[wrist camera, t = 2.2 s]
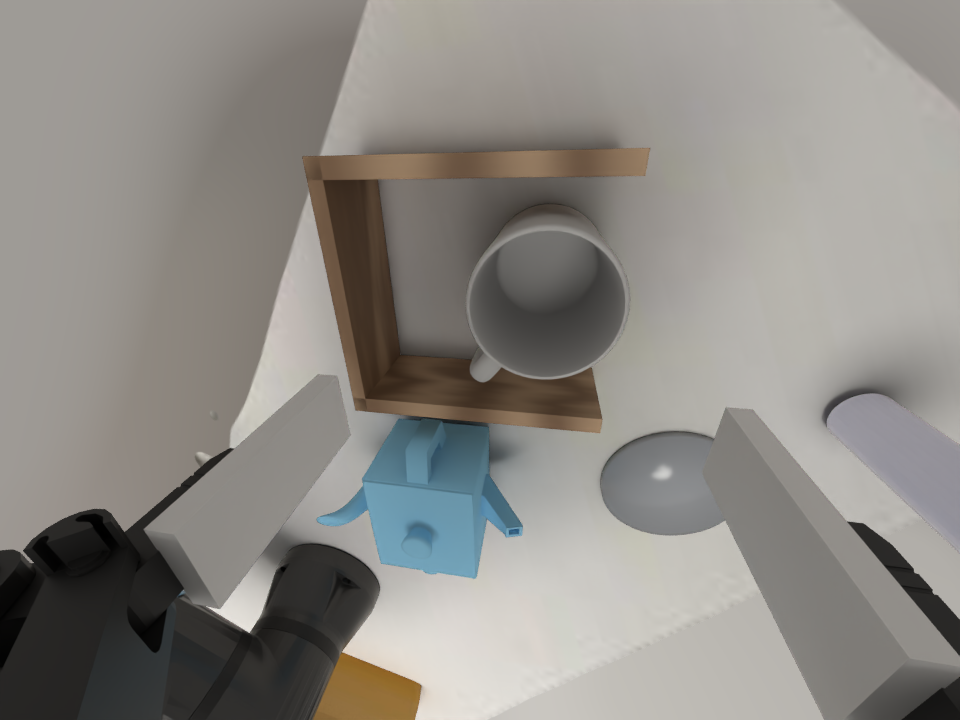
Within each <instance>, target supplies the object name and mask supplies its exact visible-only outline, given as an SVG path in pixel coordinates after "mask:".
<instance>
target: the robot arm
mask: <svg viewBox="0 0 960 720" xmlns="http://www.w3.org/2000/svg"><path fill="white" fill-rule="evenodd" d="M350 435H351V434H350V430H349V425H348V421H347V416H346V412H345V408H344V403H343V399H342V395H341V390H340V386H339V381H338V377H337V376H332V375H319V374H318V375H317V376H316V377H315V378H314V379H313V380H311V381H310V382H309V383H308V384H307V385H306V386H305V387H304V388H302V389H301V390H300V391H299V392H298V393H297V394H296V395H294V396H293V397H292V398H291V399H290V400H289V401H288V402H287V403H285V404H284V405H283V406H282V407H281V408H280V409H279V410H278V411H276V412H275V413H274V414H273V415H272V416H271V417H270V418H269V419H267V420H266V421H265V422H264V423H263V424H262V425H261V426H259V427H258V428H257V429H256V430H255V431H254V432H253V433H252V434H250V435H249V436H248V437H247V438H246V439H245V440H244V441H243V442H241V443H240V444H239V445H238V446H237V447H236V448H235V449H233V448H229V449H228V450H226V451H224V452H222V453H220V454H219V455H217V456H215V457H213V458H211V459H210V460H209V461H208V462H206V463H205V464H204V465H203V466H202V467H200V468H199V469H198V470H197V471H196V472H195V473H194V475H193V476H190V477H189V478H188V479H187V480H185V481H184V482H183V483H182V484H181V487H177V488H176V489H175V490H174V491H173V492H171V493H170V494H169V495H168V496H167V497H165V498H164V499H163V500H162V501H161V502H160V503H158V504H157V505H156V506H155V507H154V508H152V509H151V510H150V511H149V512H148V513H147V514H146V515H144V516H143V517H142V518H141V519H140V520H139V521H137V522H136V523H135V524H134V525H133V526H131V527H130V528H129V529H128V530H127V531H125V532H124V531H123V530H122V528H121V527H120V525H119V524H118V523H117V521H116V520H115V518H114V517H113V516H112V514H111V513H109V512H108V511H107V510H105V509H92V510H87V511H83V512H79V513H77V514H74V515H71V516H69V517H67V518H64V519H62V520H60V521H58V522H57V523H55V524H53V525H52V526H50V527H48V528H46V529H45V530H44V531H43V532H41V533H40V534H39V535H38V536H36V537H35V538H34V539H32V540H31V542H30V543H29V544H28V545H27V546H26V548H25V549H24V550H23V551H24V552H25V553H26V555H27V556H28V557H29V558H30V559H31V560H32V561H33V562H34V563H29V561H28V560H27V559H26V558H25V557H24V556H23V555H22V554H21V553H20V552H18V551H15V550H2V551H0V720H313V718H314V716H315V714H316V711H317V709H318V707H319V704H320V702H321V699H322V697H323V695H324V692H325V690H326V688H327V685H328V683H329V681H330V678H331V676H332V673H333V671H334V669H335V666H336V664H337V662H338V659H339V657H340V655H341V653H342V651H343V649H344V648H345V647H346V645H347V644H348V643H349V641H350V640H351V639H352V638H353V636H354V635H355V634H356V632H357V631H358V630H359V628H360V627H361V626H362V624H363V623H364V622H365V621H366V619H367V618H368V617H369V615H370V614H371V612H372V610H373V608H374V606H375V604H376V601H377V599H378V596H379V591H380V590H379V584H378V582H377V580H376V578H375V576H374V575H373V574H372V572H371V571H370V570H369V569H368V568H367V567H366V566H365V565H363V564H362V563H361V562H360V561H358V560H357V559H355V558H353V557H352V556H350V555H348V554H346V553H344V552H342V551H339V550H337V549H334V548H330V547H327V546H322V545H312V544H309V545H300V546H297V547H294V548H292V549H291V550H289V551H288V553H287V554H286V555H285V557H284V558H283V560H282V561H281V563H280V564H279V566H278V568H277V570H276V572H275V575H274V578H273V581H272V584H271V587H270V590H269V593H268V596H267V599H266V602H265V605H264V608H263V611H262V614H261V616H260V618H259V619H258V621H257V623H256V624H255V626H254V627H253V629H252V630H251V632H250V633H248V632H247V631H245V630H243V629H242V628H240V627H239V626H237V625H235V624H234V623H232V622H230V621H229V620H227V619H225V618H224V617H222V616H220V615H219V614H217V613H216V612H214V611H212V610H211V609H209V608H208V607H213V608H217V609H220V608H221V607H222V606H223V604H224V603H225V602H226V600H227V599H228V598H229V596H230V595H231V594H232V592H233V591H234V590H235V588H236V587H237V586H238V584H239V583H240V582H241V580H242V579H243V578H244V576H245V575H246V574H247V572H248V571H249V570H250V568H251V567H252V566H253V564H254V563H255V562H256V560H257V559H258V558H259V556H260V555H261V554H262V552H263V551H264V550H265V548H266V547H267V546H268V544H269V543H270V542H271V540H272V539H273V538H274V536H275V535H276V534H277V532H278V531H279V530H280V528H281V527H282V526H283V524H284V523H285V522H286V520H287V519H288V518H289V516H290V515H291V514H292V512H293V511H294V510H295V508H296V507H297V506H298V504H299V503H300V502H301V500H302V499H303V498H304V496H305V495H306V494H307V492H308V491H309V490H310V488H311V487H312V486H313V484H314V483H315V482H316V480H317V479H318V478H319V476H320V475H321V474H322V472H323V471H324V470H325V468H326V467H327V466H328V464H329V463H330V462H331V460H332V459H333V458H334V456H335V455H336V454H337V452H338V451H339V450H340V448H341V447H342V446H343V444H344V443H345V442H346V440H347V439H348V438H349V436H350ZM702 474H703V476H704V478H705V480H706V482H707V484H708V486H709V488H710V490H711V492H712V494H713V496H714V498H715V500H716V502H717V504H718V506H719V508H720V511H721V513H722V515H723V517H724V519H725V521H726V523H727V525H728V527H729V529H730V531H731V533H732V535H733V537H734V539H735V541H736V543H737V545H738V547H739V549H740V551H741V553H742V555H743V557H744V559H745V561H746V563H747V565H748V567H749V569H750V571H751V573H752V575H753V577H754V579H755V581H756V583H757V585H758V587H759V589H760V591H761V593H762V595H763V597H764V599H765V601H766V603H767V605H768V607H769V609H770V611H771V613H772V615H773V617H774V619H775V621H776V623H777V625H778V627H779V629H780V631H781V633H782V635H783V637H784V639H785V641H786V643H787V646H788V647H789V650H790V651H791V654H792V656H793V658H794V659H795V662H796V664H797V666H798V668H799V670H800V672H801V674H802V676H803V678H804V680H805V682H806V684H807V686H808V688H809V690H810V692H811V694H812V696H813V698H814V700H815V702H816V704H817V706H818V708H819V710H820V712H821V714H822V716H823V718H824V720H960V619H958V617H957V616H956V615H955V614H954V613H953V612H952V611H951V609H950V608H949V607H948V606H947V605H946V604H945V603H944V602H943V601H942V600H941V598H940V597H939V596H938V595H934V594H933V592H932V589H931V588H930V586H929V585H928V584H927V583H926V582H925V581H924V580H923V579H922V578H921V577H920V575H919V574H915V573H914V569H913V568H912V566H911V565H910V564H909V563H908V562H907V561H906V560H905V559H904V558H903V557H902V556H901V554H900V553H899V552H898V551H897V550H896V549H895V548H894V547H893V545H891V544H890V543H889V542H887V541H886V540H885V539H883V538H882V537H881V536H879V535H878V534H877V533H875V532H874V531H873V530H871V529H870V528H869V527H867V526H866V525H865V524H863V523H855V522H847V521H846V520H845V519H844V518H843V516H842V515H841V514H840V513H839V512H838V510H837V509H836V508H835V507H834V506H833V505H832V503H831V502H830V501H829V500H828V499H827V497H826V496H825V495H824V494H823V493H822V491H821V490H820V489H819V488H818V487H817V485H816V484H815V483H814V482H813V481H812V479H811V478H810V477H809V476H808V475H807V473H806V472H805V471H804V470H803V469H802V468H801V466H800V465H799V464H798V463H797V462H796V460H795V459H794V458H793V457H792V456H791V454H790V453H789V452H788V451H787V450H786V448H785V447H784V446H783V445H782V444H781V442H780V441H779V440H778V439H777V438H776V437H775V435H774V434H773V433H772V432H771V431H770V429H769V428H768V427H767V426H766V425H765V423H764V422H763V421H762V420H761V419H760V417H759V416H758V415H757V414H756V413H755V411H754V410H751V409H739V408H727V407H726V408H725V411H724V414H723V417H722V419H721V422H720V425H719V427H718V430H717V433H716V436H715V438H714V441H713V444H712V446H711V449H710V452H709V455H708V457H707V460H706V463H705V465H704V468H703V471H702ZM183 590H184V591H183ZM206 606H208V607H206Z"/></svg>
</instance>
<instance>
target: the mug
mask: <svg viewBox="0 0 960 720" xmlns="http://www.w3.org/2000/svg"><path fill="white" fill-rule="evenodd" d="M629 310H630V290H629V285H628V280H627V276H626V274H625V271H624V269H623V266H622V265H621V263H620V261H619V259H618V258H617V256H616V254H615V253H614V252H613V251H612V249H611V248H610V247H609V245H608V244H607V243H606V242H605V240H604V239H603V238H602V236H601V235H600V234H599V232H598V230H597V229H596V227H595V226H594V225H593V224H592V222H591V221H590V220H589V219H588V218H587V217H586V216H584V215H583V214H581V213H580V212H578V211H576V210H574V209H572V208H570V207H567V206H564V205H558V204H543V205H537V206H534V207H531V208H528V209H526V210H524V211H522V212H520V213H518V214H517V215H516V216H514V217H513V218H512V219H511V220H510V221H509V222H508V223H507V224H506V225H505V226H504V227H503V228H502V230H501V231H500V233H499V234H498V236H497V237H496V239H495V240H494V241H493V242H492V244H491V245H490V246H489V247H488V249H487V250H486V251H485V253H484V254H483V255H482V256H481V258H480V259H479V261H478V263H477V264H476V266H475V268H474V270H473V272H472V274H471V277H470V279H469V283H468V287H467V292H466V315H467V320H468V324H469V327H470V330H471V332H472V335H473V337H474V339H475V340H476V342H477V344H478V345H479V346H478V348H477V350H476V352H475V354H474V357H473V359H472V362H471V365H470V374H471V375H472V377H473V378H474V379H475V380H477V381H479V382H486V381H489V380H490V379H491V378H492V377H493V376H494V375H495V374H496V373H497V372H498V371H499V370H500V368H501V367H502V368H504V369H506V370H508V371H510V372H512V373H514V374H517V375H520V376H523V377H528V378H532V379H542V380H543V379H559V378H564V377H568V376H572V375H575V374H577V373H580V372H582V371H584V370H586V369H588V368H590V367H592V366H593V365H595V364H596V363H598V362H599V361H600V360H601V359H602V358H604V357H605V356H606V355H607V354H608V353H609V352H610V351H611V349H612V348H613V347H614V346H615V344H616V343H617V341H618V340H619V338H620V336H621V334H622V332H623V330H624V328H625V325H626V322H627V319H628V315H629Z"/></svg>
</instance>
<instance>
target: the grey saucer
mask: <svg viewBox="0 0 960 720" xmlns="http://www.w3.org/2000/svg"><path fill="white" fill-rule="evenodd" d="M713 441H714V439H712V438H709V437H706V436H703V435H699V434H695V433H688V432H664V433H657V434H652V435H649V436H645V437H642V438H639V439H637V440H635V441H632V442H630V443H628V444H627V445H625V446H624V447H622V448H621V449H619V450H618V451H617V452H616V453H615V454H614V455H613V456H612V457H611V458H610V459H609V461H608V462H607V463H606V465H605V467H604V469H603V472H602V475H601V491H602V496H603V500H604V502H605V504H606V506H607V508H608V509H609V511H610V512H611V513H612V514H613V515H614V516H615V517H616V518H617V519H618V520H620V521H621V522H623V523H624V524H626V525H628V526H630V527H632V528H634V529H637V530H640V531H643V532H647V533H651V534H657V535H685V534H692V533H696V532H700V531H703V530H706V529H709V528H712V527H714V526H716V525H718V524H720V523H722V522H723V521H725V519H724V517H723V515H722V513H721V511H720V508H719V506H718V504H717V502H716V500H715V498H714V496H713V494H712V492H711V490H710V488H709V486H708V484H707V482H706V480H705V478H704V476H703V474H702V471H703V468H704V465H705V463H706V460H707V457H708V455H709V452H710V449H711V446H712V444H713Z"/></svg>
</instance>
